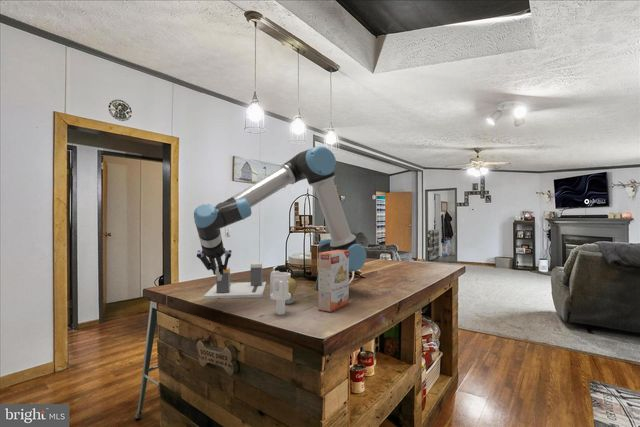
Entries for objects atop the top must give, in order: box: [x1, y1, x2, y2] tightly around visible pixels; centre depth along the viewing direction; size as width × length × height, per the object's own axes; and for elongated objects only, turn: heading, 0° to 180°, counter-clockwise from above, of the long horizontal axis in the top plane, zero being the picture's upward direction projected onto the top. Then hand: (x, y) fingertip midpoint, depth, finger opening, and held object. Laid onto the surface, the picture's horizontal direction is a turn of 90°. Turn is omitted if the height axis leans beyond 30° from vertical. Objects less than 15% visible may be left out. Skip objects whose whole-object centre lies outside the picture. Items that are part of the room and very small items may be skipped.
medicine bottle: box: [269, 265, 288, 296], centre depth 146 cm, size 7×7×12 cm
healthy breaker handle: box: [250, 262, 263, 286], centre depth 157 cm, size 4×5×10 cm
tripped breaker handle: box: [215, 267, 231, 293], centre depth 144 cm, size 4×5×10 cm
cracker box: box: [317, 250, 350, 313], centre depth 124 cm, size 14×6×21 cm, turn 148°
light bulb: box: [285, 277, 297, 305], centre depth 130 cm, size 6×6×10 cm
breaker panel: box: [202, 281, 267, 300], centre depth 151 cm, size 26×24×1 cm
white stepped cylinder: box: [269, 271, 292, 316], centre depth 116 cm, size 7×7×15 cm
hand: (219, 278), depth 138 cm, fingers closed
